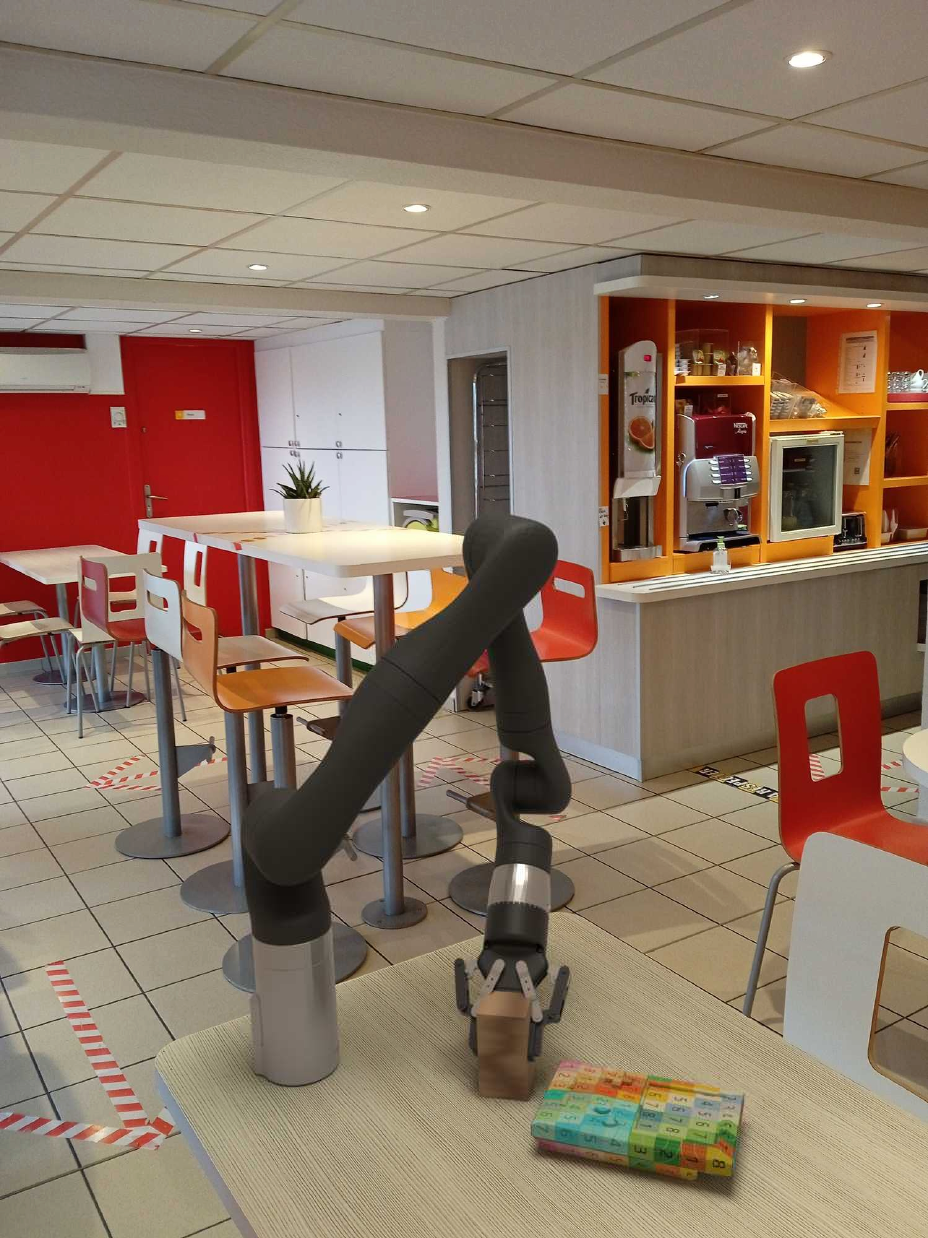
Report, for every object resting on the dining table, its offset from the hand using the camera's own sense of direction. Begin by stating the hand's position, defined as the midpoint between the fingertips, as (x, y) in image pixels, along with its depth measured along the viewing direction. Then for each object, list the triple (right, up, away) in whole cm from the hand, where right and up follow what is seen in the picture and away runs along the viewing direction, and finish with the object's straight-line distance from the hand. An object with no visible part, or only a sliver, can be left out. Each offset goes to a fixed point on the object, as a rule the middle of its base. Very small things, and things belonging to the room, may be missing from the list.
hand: (504, 1057), depth 115 cm
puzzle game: (+14, -6, -8) cm, 17 cm away
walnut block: (+1, -4, +2) cm, 5 cm away
